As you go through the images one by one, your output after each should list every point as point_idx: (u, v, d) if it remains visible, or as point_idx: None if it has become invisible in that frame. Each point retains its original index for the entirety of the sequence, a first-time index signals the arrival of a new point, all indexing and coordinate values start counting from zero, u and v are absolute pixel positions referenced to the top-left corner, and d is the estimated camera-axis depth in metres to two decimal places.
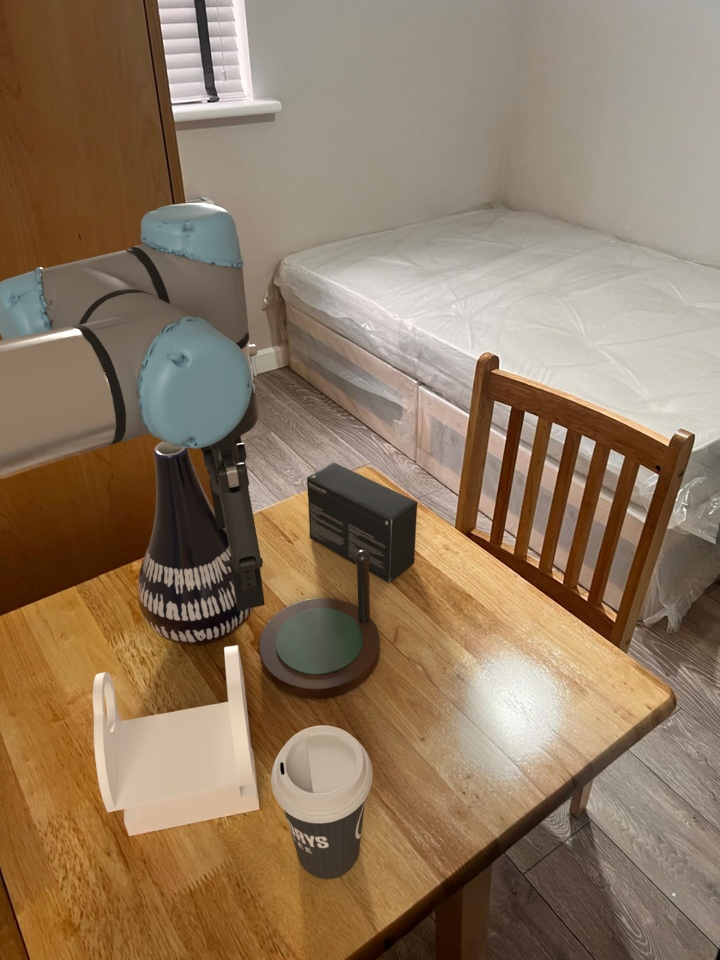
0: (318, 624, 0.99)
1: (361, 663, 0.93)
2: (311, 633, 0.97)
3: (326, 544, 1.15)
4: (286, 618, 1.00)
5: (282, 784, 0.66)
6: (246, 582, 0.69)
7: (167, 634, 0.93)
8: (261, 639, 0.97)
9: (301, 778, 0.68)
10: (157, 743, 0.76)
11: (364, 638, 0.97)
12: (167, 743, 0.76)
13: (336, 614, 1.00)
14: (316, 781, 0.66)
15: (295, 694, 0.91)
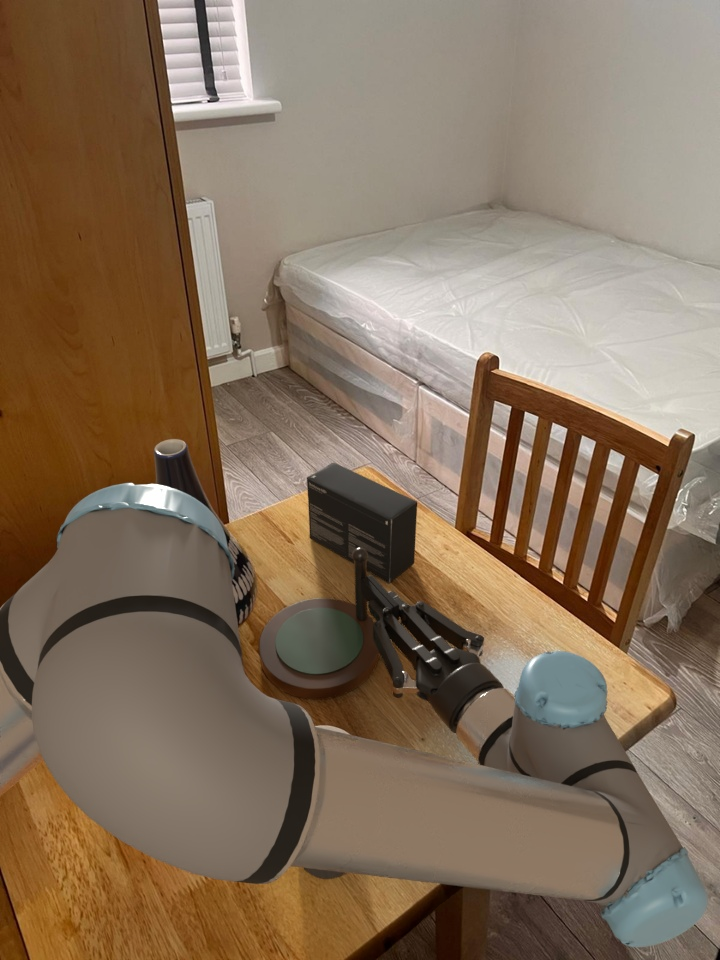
0: (316, 625, 0.99)
1: (363, 660, 0.94)
2: (310, 634, 0.97)
3: (326, 544, 1.15)
4: (283, 620, 1.00)
5: None
6: (372, 610, 0.91)
7: None
8: (260, 643, 0.96)
9: None
10: None
11: (364, 635, 0.97)
12: None
13: (333, 613, 1.00)
14: None
15: (300, 695, 0.91)
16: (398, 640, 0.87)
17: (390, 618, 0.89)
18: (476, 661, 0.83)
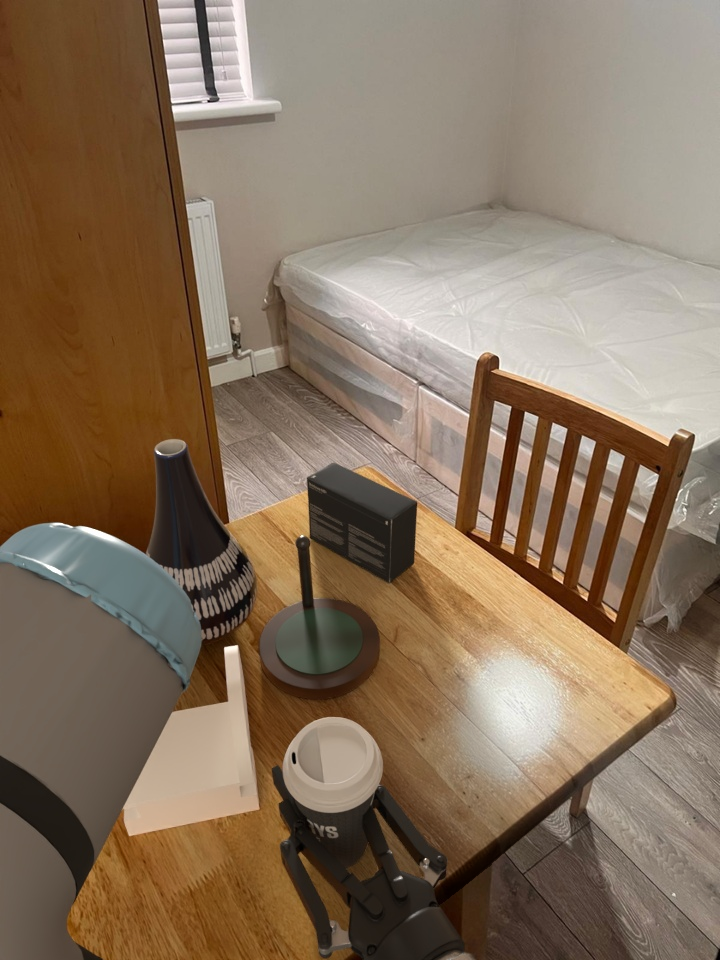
0: (300, 636, 0.97)
1: (359, 616, 1.00)
2: (309, 643, 0.96)
3: (326, 544, 1.15)
4: (277, 660, 0.94)
5: (294, 773, 0.67)
6: (282, 816, 0.70)
7: None
8: (297, 684, 0.91)
9: (312, 768, 0.69)
10: (157, 743, 0.76)
11: (332, 608, 1.01)
12: (167, 743, 0.76)
13: (293, 621, 0.99)
14: (327, 771, 0.67)
15: (368, 675, 0.94)
16: (318, 865, 0.66)
17: (304, 834, 0.68)
18: (429, 896, 0.63)
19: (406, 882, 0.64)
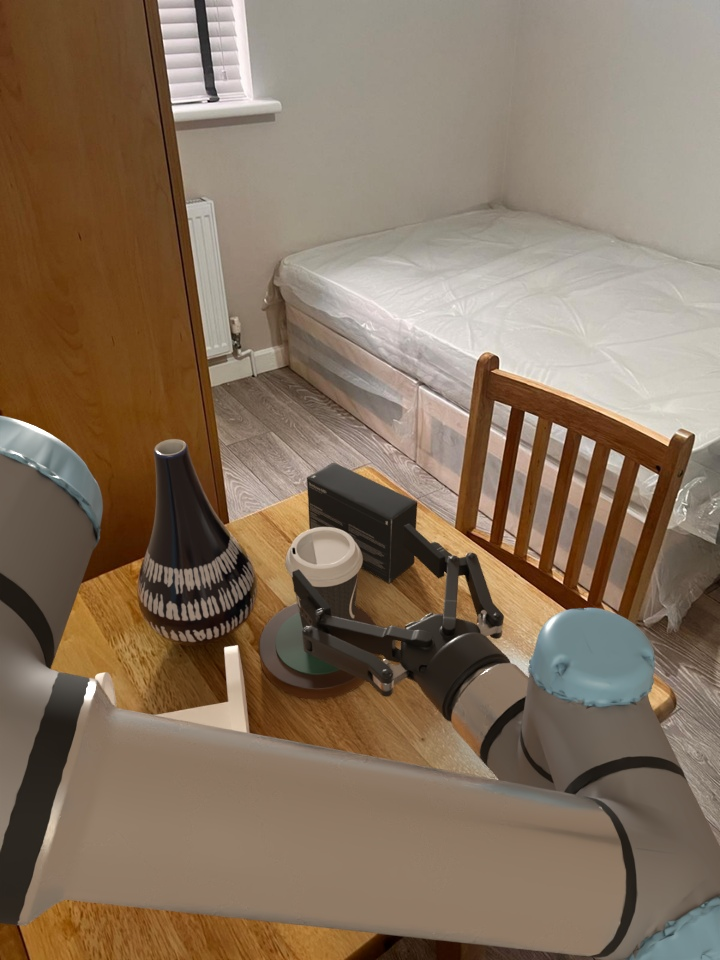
0: (300, 636, 0.97)
1: (359, 616, 1.00)
2: None
3: None
4: (277, 660, 0.94)
5: (294, 560, 0.87)
6: (303, 611, 0.71)
7: (167, 634, 0.93)
8: (297, 685, 0.91)
9: (308, 560, 0.89)
10: None
11: None
12: None
13: (293, 621, 0.99)
14: (319, 558, 0.87)
15: None
16: (353, 638, 0.68)
17: (328, 619, 0.68)
18: (476, 632, 0.67)
19: None
